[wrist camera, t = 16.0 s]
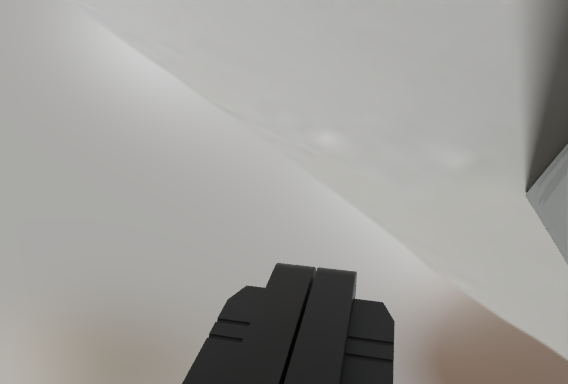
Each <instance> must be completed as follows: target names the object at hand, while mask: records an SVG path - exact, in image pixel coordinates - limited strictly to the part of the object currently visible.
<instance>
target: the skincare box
mask: <svg viewBox="0 0 568 384" xmlns="http://www.w3.org/2000/svg"><path fill="white" fill-rule="evenodd" d="M526 197H527V199H528V201H529V202H530V204H531V206H532V207H533V209H534V210H535V212H536V213H537V215H538V216H539V218H540V220H541V221H542V223H543V225H544V226H545V228H546V230H547V231H548V233H549V235H550V236H551V238H552V239H553V241H554V243H555V244H556V246H557V248H558V249H559V251H560V253H561V254H562V256H563V257H564V259H565V261H566V262H567V264H568V144H567V145H566V146H565V147H564V148H563V150H562V151H561V152H560V153H559V154H558V156H557V157H556V158H555V159H554V160H553V162H552V163H551V164H550V165H549V166H548V168H547V169H546V170H545V171H544V172H543V174H542V175H541V176H540V177H539V178H538V180H537V181H536V182H535V183H534V184H533V186H532V187H531V188H530V189H529V191H528V192H527V193H526Z"/></svg>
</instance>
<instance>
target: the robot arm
mask: <svg viewBox="0 0 568 384" xmlns="http://www.w3.org/2000/svg"><path fill="white" fill-rule="evenodd" d="M356 277H357V273H356V272H353V271H345V270H336V269H326V268H317V271H316V268H315V267H308V266H300V265H291V264H282V263H277V264H276V266H275V268H274V270H273V272H272V274H271V277H270V279H269V281H268V284H267V286H266V288H261V287H253V286H246V287H244V288H243V289H241V290H240V291H239V292H237V293H236V294H235V295H233V296H232V297H231V298H229V299H228V300H227V302H226V304H225V306H224V307H223V309H222V311H221V313H220V315H219V317H218V320H217V322H215V324H214V326H213V328H212V330H211V332H210V334H209V338H207V339H206V341H205V343H204V344H203V346H202V348H201V350H200V352H199V354H198V356H197V357H196V359H195V361H194V363H193V365H192V367H191V369H190V370H189V372H188V374H187V376H186V378H185V380H184V381H183V383H182V384H393V359H394V320H393V319H392V317H391V315H390V313H389V312H388V310H387V308H386V307H385V305H384V303H382V302H376V301H367V300H360V299H355V292H356Z"/></svg>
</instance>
